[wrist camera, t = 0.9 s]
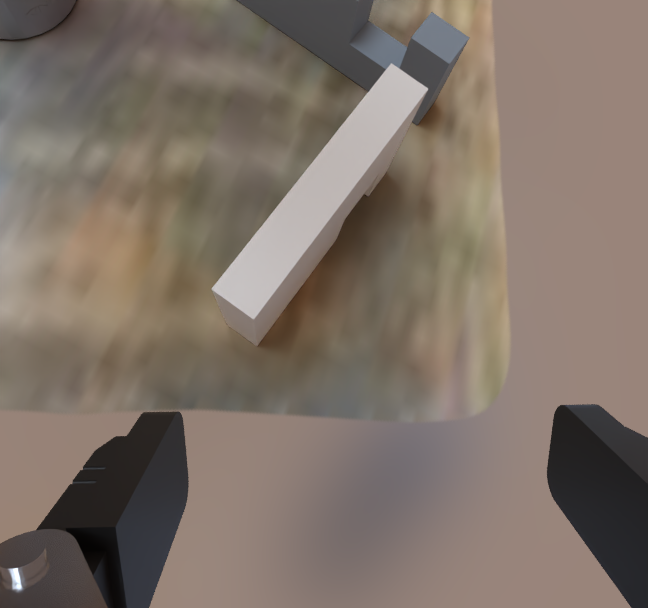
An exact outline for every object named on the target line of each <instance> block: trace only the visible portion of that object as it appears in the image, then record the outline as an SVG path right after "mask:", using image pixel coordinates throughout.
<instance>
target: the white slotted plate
mask: <svg viewBox="0 0 648 608" xmlns="http://www.w3.org/2000/svg"><path fill="white" fill-rule="evenodd" d="M427 91H428V88H427V87H425V86H424V85H422V84H421V83H419V82H418V81H416V80H415V79H414V78H412V77H411V76H409V75H408V74H406V73H405V72H403V71H402V70H401V69H399V68H398V67H396V66H395V65H393V64H392V63H391V64H390V65H389V67H388V68H387V69H386V70H385V72H384V73H383V74H382V75H381V77H380V78H379V79H378V81H377V82H376V83H375V84H374V86H373V87H372V88H371V89H370V91H369V92H368V93H367V94H366V96H365V97H364V98H363V99H362V101H361V102H360V103H359V104H358V106H357V107H356V108H355V109H354V111H353V112H352V113H351V114H350V116H349V117H348V118H347V119H346V121H345V122H344V123H343V124H342V126H341V127H340V128H339V130H338V131H337V132H336V133H335V135H334V136H333V137H332V138H331V140H330V141H329V142H328V143H327V145H326V146H325V147H324V148H323V150H322V151H321V152H320V153H319V155H318V156H317V157H316V158H315V160H314V161H313V162H312V163H311V165H310V166H309V167H308V168H307V170H306V171H305V172H304V173H303V175H302V176H301V177H300V178H299V180H298V181H297V182H296V184H295V185H294V186H293V187H292V189H291V190H290V191H289V192H288V194H287V195H286V196H285V197H284V199H283V200H282V201H281V202H280V204H279V205H278V206H277V207H276V209H275V210H274V211H273V212H272V214H271V215H270V216H269V217H268V219H267V220H266V221H265V222H264V224H263V225H262V226H261V227H260V229H259V230H258V231H257V233H256V234H255V235H254V236H253V238H252V239H251V240H250V241H249V243H248V244H247V245H246V246H245V248H244V249H243V250H242V251H241V253H240V254H239V255H238V256H237V258H236V259H235V260H234V261H233V263H232V264H231V265H230V266H229V268H228V269H227V270H226V271H225V273H224V274H223V275H222V276H221V278H220V279H219V280H218V282H217V283H216V284H215V285H214V287H213V288H212V289H211V290H212V292H213V294H214V296H215V299H216V301H217V303H218V306H219V308H220V310H221V313H222V315H223V317H224V319H225V322H226V324H227V325H228V326H229V327H231V328H232V329H234V330H235V331H236V332H238V333H239V334H240V335H242V336H243V337H245V338H246V339H247V340H249V341H250V342H252V343H253V344H254V345H256V346H258V344H259V343H260V342H261V340H262V339H263V338H264V336H265V335H266V334H267V332H268V331H269V330H270V328H271V327H272V325H273V324H274V323H275V321H276V320H277V319H278V317H279V316H280V315H281V313H282V312H283V311H284V309H285V308H286V307H287V305H288V304H289V303H290V301H291V300H292V299H293V297H294V296H295V295H296V293H297V292H298V291H299V289H300V288H301V286H302V285H303V284H304V282H305V281H306V280H307V278H308V277H309V276H310V274H311V273H312V272H313V270H314V269H315V268H316V266H317V265H318V264H319V262H320V261H321V260H322V258H323V257H324V256H325V254H326V253H327V252H328V250H329V249H330V247H331V246H332V245H333V243H334V242H335V241H336V239H337V237H338V235H339V232H340V230H341V227H342V225H343V223H344V220H345V218H346V217H347V216H348V214H349V213H350V212H351V210H352V209H353V208H354V206H355V205H356V204H357V202H358V201H359V200H360V198H361V197H362V196H363V194H365V195H366V196H369V195H370V194H371V192H372V191H373V190H374V188H375V187H376V186H377V184H378V183H379V182H380V180H381V179H382V178H383V176H384V175H385V174H386V172H387V170H388V168H389V166H390V164H391V162H392V160H393V158H394V156H395V154H396V152H397V150H398V148H399V146H400V144H401V142H402V140H403V138H404V136H405V134H406V132H407V130H408V128H409V126H410V124H411V122H412V120H413V118H414V116H415V114H416V113H417V111H418V109H419V107H420V105H421V103H422V101H423V99H424V97H425V95H426V93H427Z"/></svg>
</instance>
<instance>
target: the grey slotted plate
mask: <svg viewBox="0 0 648 608" xmlns="http://www.w3.org/2000/svg"><path fill="white" fill-rule="evenodd" d="M237 1H239V2H240V3H242V4H243V5H244V6H246V7H247V8H249V9H250V10H252V11H253V12H255V13H256V14H257V15H259V16H260V17H262V18H263V19H265V20H266V21H267V22H269V23H270V24H272V25H273V26H275V27H276V28H278V29H279V30H280V31H282V32H283V33H285V34H286V35H288V36H289V37H291V38H292V39H293V40H295V41H296V42H298V43H299V44H301V45H302V46H304V47H305V48H306V49H308V50H309V51H311V52H312V53H314V54H315V55H317V56H318V57H319V58H321V59H322V60H324V61H325V62H327V63H328V64H330V65H331V66H332V67H334V68H335V69H337V70H338V71H340V72H341V73H342V74H344V75H345V76H347V77H348V78H350V79H351V80H353V81H354V82H355V83H357V84H358V85H360V86H361V87H363V88H364V89H366V90H367V91H368V92H369V91H370V89H371V88H372V87H373V86H374V84H375V83H376V82H377V81H378V79H379V78H380V77H381V75H382V74H383V73H384V72H385V70H386V69H387V68H388V67H389V65H390V64H391V63H392V64H393V65H395V66H396V67H398V68H399V69H401V70H402V71H403V72H405V73H406V74H408V75H409V76H411V77H412V78H414V79H415V80H416V81H418V82H419V83H421V84H422V85H424V86H425V87H427V88H428V91H427V93H426V95H425V97H424V99H423V101H422V103H421V105H420V107H419V109H418V111H417V113H416V114H415V116H414V118H413V120H412V122H413V123H415V124H416V125H418V124H419V122H420V121H421V120H422V118H423V117H424V116H425V114H426V113H427V112H428V110H429V109H430V108H431V106H432V105H433V104H434V102H435V100H436V98H437V97H438V95H439V93H440V91H441V89H442V87H443V86H444V84H445V82H446V80H447V78H448V76H449V74H450V73H451V71H452V69H453V67H454V65H455V63H456V62H457V60H458V58H459V56H460V54H461V52H462V51H463V49H464V47H465V45H466V43H467V41H468V40H469V37H468V36H466V35H465V34H463V33H462V32H460V31H459V30H457V29H456V28H454V27H453V26H451V25H450V24H449V23H447V22H446V21H444V20H443V19H441V18H440V17H438V16H437V15H435V14H434V13H432V12H431V14H430V15H429V16H428V17H427V19H426V20H425V21H424V22H423V24H422V25H421V26H420V27H419V29H418V30H417V31H416V32H415V34H414V35H413V36H412V37H411V40H410V42H409V45H408V47H406V46H404V45H403V44H401V43H400V42H398V41H397V40H396V39H394V38H393V37H391V36H390V35H388V34H387V33H385V32H384V31H383V30H381V29H380V28H378V27H377V26H375V25H374V24H372V23H371V22H369V21H368V19H369V15H370V11H371V8H372V4H373V0H237Z"/></svg>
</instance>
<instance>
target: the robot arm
mask: <svg viewBox="0 0 648 608" xmlns="http://www.w3.org/2000/svg"><path fill="white" fill-rule="evenodd" d="M75 2H76V0H0V39H11V40H14V39H23V38H29V37H32V36H36V35H39V34H42V33H44V32H46V31H48V30H50V29H52V28H53V27H55V26H56V25H57V24H59V23H60V22H61V21H63V20H64V18H65V17H66V16H67V15H68V14H69V12H70V11H71V10H72V8H73V6H74V4H75ZM547 478H548V485H549V489H550V492H551V494H552V497H553V498H554V500H555V502H556V503H557V505H558V506H559V507H560V509H561V510H562V511H563V513H564V514H565V516H566V517H567V519H568V520H569V521H570V523H571V524H572V525H573V527H574V528H575V530H576V531H577V532H578V534H579V535H580V537H581V538H582V539H583V541H584V542H585V544H586V545H587V546H588V548H589V549H590V551H591V552H592V553H593V555H594V556H595V557H596V559H597V560H598V562H599V563H600V564H601V566H602V567H603V569H604V570H605V571H606V573H607V574H608V576H609V577H610V578H611V580H612V581H613V582H614V584H615V585H616V586H617V588H618V589H619V591H620V592H621V594H622V595H623V596H624V598H625V599H626V601H627V602H628V603H629V605H630V606H631V608H648V438H647V437H645V436H643V435H641V434H639V433H637V432H635V431H633V430H631V429H629V428H627V427H624V426H623V425H622V424H621V423H620V422H618V421H617V420H616V419H615V418H614V417H612V416H611V415H610V414H609V413H608V412H607V411H605V410H604V409H603V408H602V407H600V406H599V405H595V404H594V405H593V404H591V405H560V406H559V407H558V408H557V409H556V411H555V414H554V420H553V427H552V435H551V444H550V451H549V459H548V467H547ZM187 496H188V468H187V457H186V446H185V436H184V425H183V418H182V415H181V413H180V412H144V413H142V414H141V416H140V417H139V419H138V420H137V422H136V423H135V425H134V426H133V428H132V429H131V431H130V432H129V434H128V435H127V436H116V437H114V438H113V439H111V440H110V441H108V442H107V443H106V444H104V445H103V446H101V447H100V448H98V449H97V450H96V451H95V452H94V453H93V455H92V456H91V457H90V458H89V460H88V461H87V462H86V464H85V465H84V466H83V470H80V472H79V473H78V474H77V476H76V477H75V479H74V480H73V484H70V485H69V486H68V488H67V489H66V491H65V492H64V493H63V495H62V496H61V497H60V499H59V500H58V501H57V503H56V504H55V505H54V507H53V508H52V509H51V511H50V512H49V513H48V515H47V516H46V517H45V519H44V520H43V522H42V523H41V524H40V525H39V527H38V528H37V530H35V531H31V532H27V533H23V534H21V535H18V536H15V537H13V538H10V539H8V540H6V541H4V542H2V543H1V544H0V608H149V606H150V603H151V600H152V597H153V595H154V592H155V589H156V587H157V584H158V581H159V578H160V576H161V573H162V570H163V567H164V565H165V562H166V559H167V556H168V553H169V551H170V548H171V545H172V542H173V540H174V537H175V534H176V531H177V529H178V526H179V523H180V520H181V518H182V515H183V512H184V509H185V506H186V502H187Z"/></svg>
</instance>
